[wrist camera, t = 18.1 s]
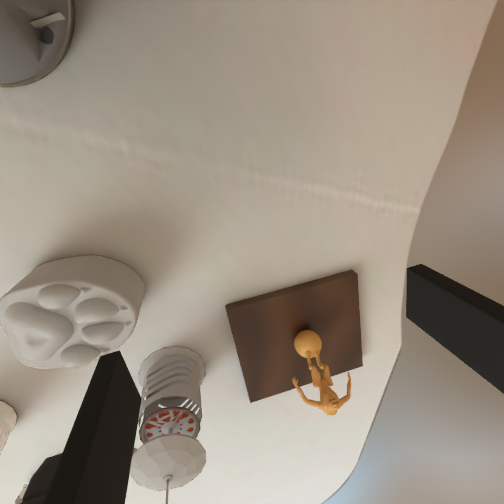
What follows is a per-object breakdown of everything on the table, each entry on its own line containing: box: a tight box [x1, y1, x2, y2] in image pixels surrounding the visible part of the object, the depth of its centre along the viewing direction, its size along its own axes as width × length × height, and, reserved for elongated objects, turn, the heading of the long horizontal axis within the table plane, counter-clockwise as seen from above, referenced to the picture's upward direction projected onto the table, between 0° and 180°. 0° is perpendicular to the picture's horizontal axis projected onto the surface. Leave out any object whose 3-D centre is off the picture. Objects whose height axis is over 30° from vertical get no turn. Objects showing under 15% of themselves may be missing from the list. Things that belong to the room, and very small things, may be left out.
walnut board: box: [225, 270, 363, 402], centre depth 47 cm, size 20×18×2 cm
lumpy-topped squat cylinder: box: [0, 255, 145, 369], centre depth 34 cm, size 10×13×9 cm
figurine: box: [292, 330, 351, 415], centre depth 41 cm, size 8×6×12 cm
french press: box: [130, 346, 206, 504], centre depth 33 cm, size 10×12×25 cm
